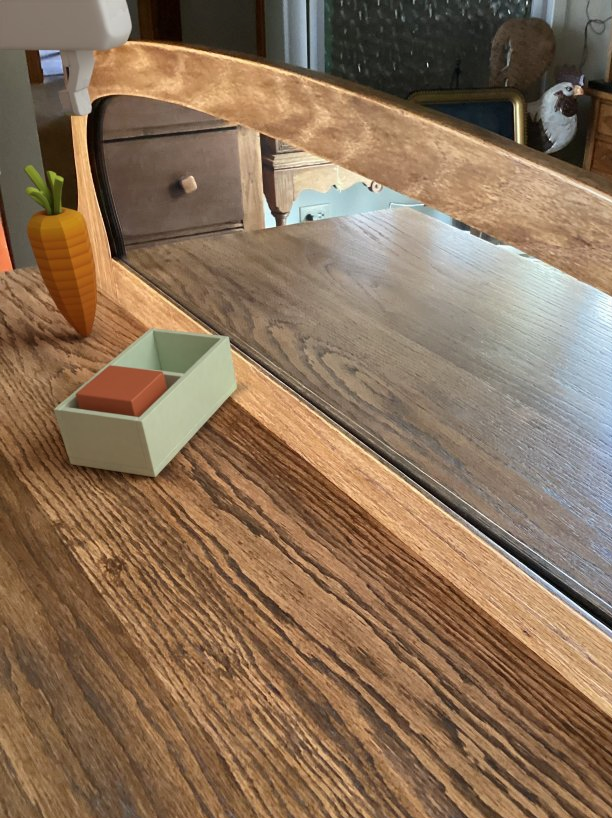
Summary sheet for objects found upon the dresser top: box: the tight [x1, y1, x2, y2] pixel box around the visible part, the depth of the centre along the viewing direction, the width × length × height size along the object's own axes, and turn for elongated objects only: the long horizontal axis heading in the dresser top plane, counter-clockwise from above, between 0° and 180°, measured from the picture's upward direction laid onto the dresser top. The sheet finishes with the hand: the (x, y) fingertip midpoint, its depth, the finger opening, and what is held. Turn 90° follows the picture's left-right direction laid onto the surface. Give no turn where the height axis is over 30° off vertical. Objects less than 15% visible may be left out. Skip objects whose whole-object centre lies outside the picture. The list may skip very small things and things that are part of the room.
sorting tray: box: [53, 327, 238, 478], centre depth 68 cm, size 7×14×5 cm, turn 163°
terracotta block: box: [76, 365, 167, 417], centre depth 65 cm, size 4×4×4 cm
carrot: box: [23, 164, 98, 338], centre depth 77 cm, size 5×5×15 cm
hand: (26, 112), depth 70 cm, fingers open, 8 cm apart
